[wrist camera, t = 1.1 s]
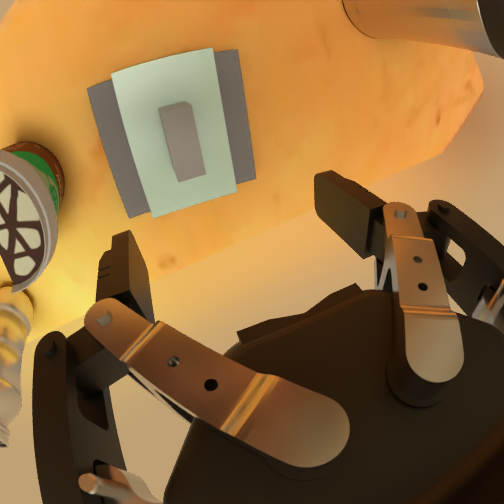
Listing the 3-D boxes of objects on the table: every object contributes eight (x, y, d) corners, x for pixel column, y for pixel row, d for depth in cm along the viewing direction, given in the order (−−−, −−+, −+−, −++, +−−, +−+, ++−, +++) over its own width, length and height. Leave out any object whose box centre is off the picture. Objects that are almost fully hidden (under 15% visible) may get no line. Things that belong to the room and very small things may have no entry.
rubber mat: (234, 50, 22) (237, 49, 21) (253, 175, 31) (256, 178, 30) (88, 88, 19) (86, 88, 19) (129, 214, 28) (129, 218, 27)
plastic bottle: (28, 278, 27) (-1, 431, 12) (42, 316, 30) (32, 456, 15) (-10, 279, 24) (-49, 420, 9) (6, 317, 28) (-14, 448, 13)
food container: (85, 227, 27) (72, 289, 20) (38, 236, 25) (14, 298, 18) (66, 114, 20) (30, 136, 12) (13, 129, 18) (-37, 160, 10)
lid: (210, 48, 21) (224, 43, 17) (235, 188, 30) (250, 208, 26) (111, 73, 19) (104, 72, 15) (153, 214, 28) (156, 239, 25)
